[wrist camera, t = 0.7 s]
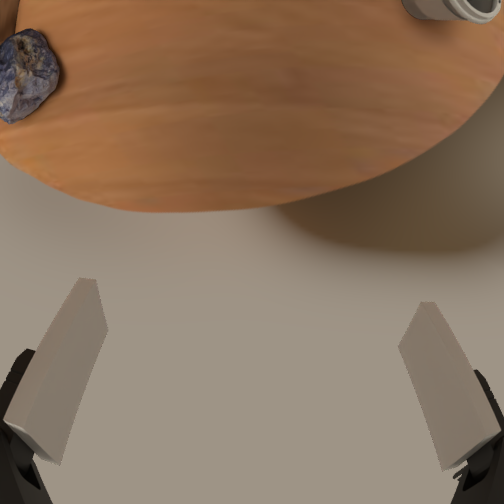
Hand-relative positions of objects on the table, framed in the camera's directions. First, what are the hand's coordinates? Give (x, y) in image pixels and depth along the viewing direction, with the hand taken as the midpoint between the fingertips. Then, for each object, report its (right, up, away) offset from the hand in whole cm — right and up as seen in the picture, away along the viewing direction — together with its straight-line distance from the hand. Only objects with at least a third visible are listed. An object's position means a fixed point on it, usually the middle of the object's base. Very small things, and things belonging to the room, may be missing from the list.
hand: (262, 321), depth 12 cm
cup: (+19, +31, +12) cm, 38 cm away
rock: (-28, +24, +16) cm, 40 cm away
